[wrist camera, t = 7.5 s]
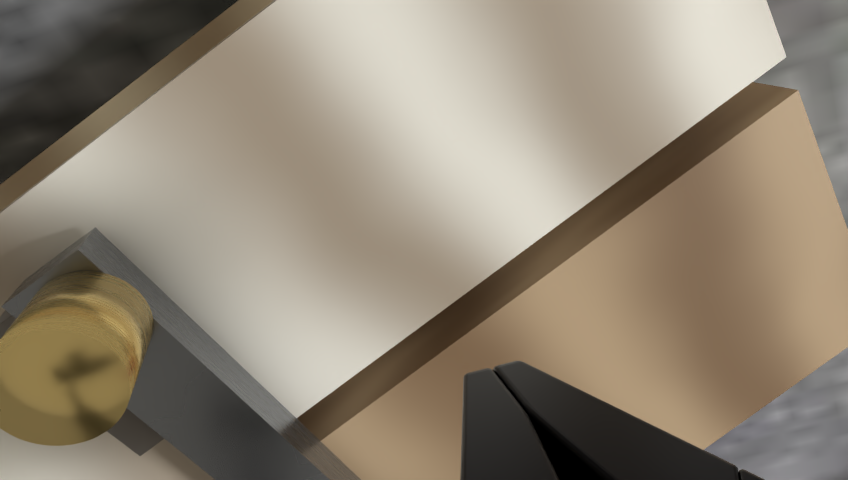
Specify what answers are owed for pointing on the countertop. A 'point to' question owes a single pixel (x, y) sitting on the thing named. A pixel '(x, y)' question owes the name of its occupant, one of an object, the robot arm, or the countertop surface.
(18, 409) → the latch bar
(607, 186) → the door and jamb
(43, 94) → the countertop surface
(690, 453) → the robot arm
